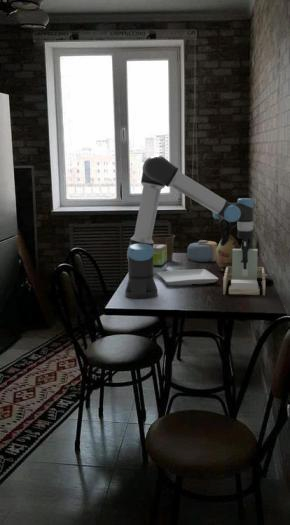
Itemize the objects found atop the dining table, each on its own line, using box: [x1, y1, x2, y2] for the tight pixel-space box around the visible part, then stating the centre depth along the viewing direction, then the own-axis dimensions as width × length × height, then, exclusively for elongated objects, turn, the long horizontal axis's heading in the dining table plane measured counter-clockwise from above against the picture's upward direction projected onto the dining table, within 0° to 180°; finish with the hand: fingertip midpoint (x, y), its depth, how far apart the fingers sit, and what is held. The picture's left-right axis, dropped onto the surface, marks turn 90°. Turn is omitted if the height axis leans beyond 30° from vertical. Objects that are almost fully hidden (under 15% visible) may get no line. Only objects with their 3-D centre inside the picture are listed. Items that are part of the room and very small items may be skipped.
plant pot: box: [152, 234, 176, 263], centre depth 333 cm, size 16×16×16 cm
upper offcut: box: [230, 280, 259, 289], centre depth 246 cm, size 7×12×3 cm, turn 81°
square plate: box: [155, 268, 219, 287], centre depth 275 cm, size 27×27×4 cm
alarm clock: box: [187, 239, 218, 263], centre depth 337 cm, size 19×20×12 cm
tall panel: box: [232, 248, 258, 280], centre depth 260 cm, size 5×12×18 cm, turn 79°
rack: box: [222, 266, 266, 296], centre depth 258 cm, size 32×19×7 cm, turn 169°
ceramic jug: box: [215, 219, 242, 272], centre depth 298 cm, size 17×15×30 cm
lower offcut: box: [228, 285, 261, 296], centre depth 247 cm, size 7×14×3 cm, turn 79°
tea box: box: [153, 244, 168, 274], centre depth 301 cm, size 15×10×15 cm
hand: (245, 272), depth 261 cm, fingers open, 13 cm apart
